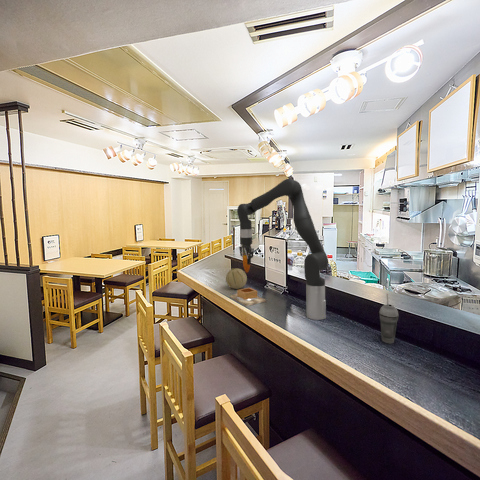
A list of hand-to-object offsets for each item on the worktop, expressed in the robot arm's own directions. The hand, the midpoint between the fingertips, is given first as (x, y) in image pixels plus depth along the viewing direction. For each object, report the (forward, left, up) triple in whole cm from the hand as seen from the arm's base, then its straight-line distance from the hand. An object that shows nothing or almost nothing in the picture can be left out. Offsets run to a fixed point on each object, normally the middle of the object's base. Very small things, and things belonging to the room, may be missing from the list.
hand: (246, 263), depth 172 cm
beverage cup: (-64, +51, -23) cm, 85 cm away
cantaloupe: (+10, -24, -23) cm, 35 cm away
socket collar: (0, 0, -22) cm, 22 cm away
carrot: (0, 0, -6) cm, 6 cm away
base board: (0, 0, -23) cm, 23 cm away
